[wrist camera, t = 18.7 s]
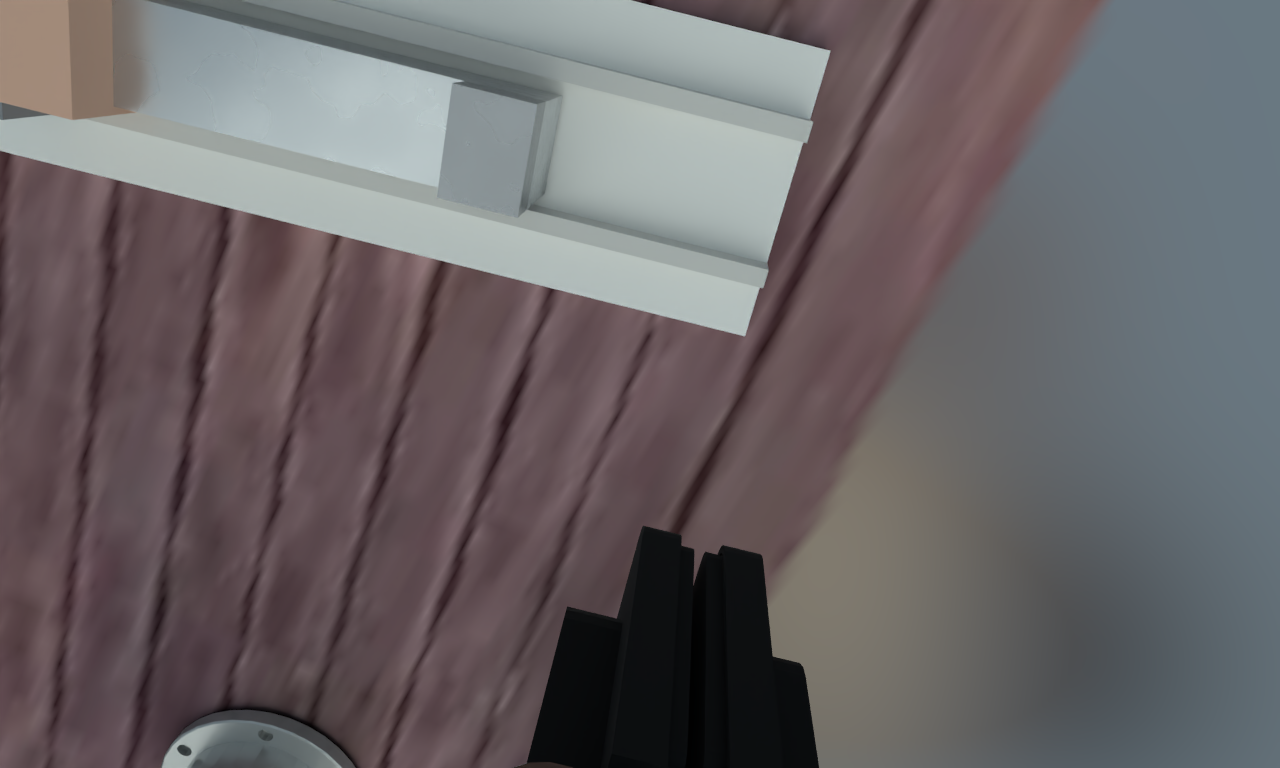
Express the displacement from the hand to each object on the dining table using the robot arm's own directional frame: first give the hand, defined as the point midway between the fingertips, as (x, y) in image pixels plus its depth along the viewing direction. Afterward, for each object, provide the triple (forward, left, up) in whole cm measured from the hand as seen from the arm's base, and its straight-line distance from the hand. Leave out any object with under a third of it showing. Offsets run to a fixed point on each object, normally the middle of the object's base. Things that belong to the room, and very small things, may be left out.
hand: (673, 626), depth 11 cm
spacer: (+2, +25, -26) cm, 36 cm away
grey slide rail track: (+2, +14, -27) cm, 30 cm away
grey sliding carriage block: (+2, +15, -26) cm, 30 cm away
